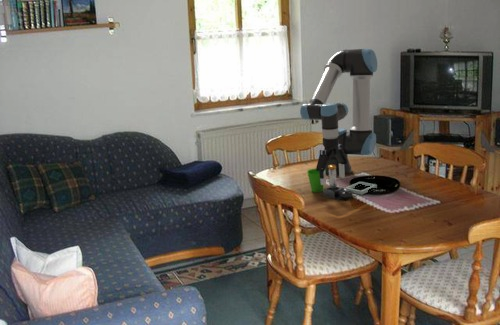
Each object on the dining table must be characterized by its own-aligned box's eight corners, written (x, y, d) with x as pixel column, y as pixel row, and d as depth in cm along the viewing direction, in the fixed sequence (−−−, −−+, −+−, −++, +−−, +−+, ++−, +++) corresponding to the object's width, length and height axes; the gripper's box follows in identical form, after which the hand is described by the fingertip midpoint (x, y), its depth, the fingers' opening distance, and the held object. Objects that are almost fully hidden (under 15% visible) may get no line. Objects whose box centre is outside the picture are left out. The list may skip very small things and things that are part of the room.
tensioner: (332, 192, 288) (332, 182, 286) (357, 197, 277) (357, 187, 275) (320, 197, 282) (319, 187, 281) (345, 203, 271) (344, 193, 270)
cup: (326, 195, 284) (324, 173, 281) (307, 195, 286) (305, 173, 283) (327, 189, 293) (326, 168, 290) (309, 189, 295) (307, 168, 292)
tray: (360, 186, 293) (359, 181, 292) (376, 189, 286) (376, 184, 285) (344, 192, 285) (344, 188, 285) (361, 196, 278) (361, 191, 277)
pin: (333, 192, 284) (331, 164, 280) (339, 194, 281) (337, 165, 277) (328, 195, 281) (326, 166, 278) (334, 196, 279) (332, 167, 275)
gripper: (341, 130, 285) (343, 173, 290) (306, 142, 269) (309, 186, 274) (353, 132, 279) (355, 175, 285) (318, 144, 263) (321, 189, 269)
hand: (332, 181), depth 279 cm, fingers open, 13 cm apart
